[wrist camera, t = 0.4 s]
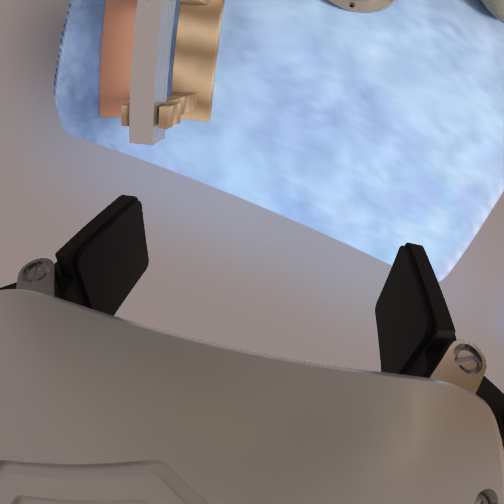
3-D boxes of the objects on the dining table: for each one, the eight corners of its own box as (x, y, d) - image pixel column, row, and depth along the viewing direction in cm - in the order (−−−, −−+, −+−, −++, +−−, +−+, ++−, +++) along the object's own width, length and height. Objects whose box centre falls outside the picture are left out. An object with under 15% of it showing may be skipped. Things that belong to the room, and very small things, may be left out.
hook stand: (187, -18, 30) (135, -41, 18) (227, -19, 29) (187, -49, 18) (173, 116, 43) (121, 140, 31) (210, 120, 42) (167, 145, 30)
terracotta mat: (109, -9, 31) (107, -10, 30) (163, -18, 30) (161, -19, 29) (101, 115, 44) (99, 116, 44) (150, 117, 43) (148, 118, 43)
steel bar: (158, -38, 20) (145, -45, 18) (183, -41, 20) (171, -49, 17) (142, 135, 33) (129, 142, 30) (164, 138, 33) (152, 145, 30)
